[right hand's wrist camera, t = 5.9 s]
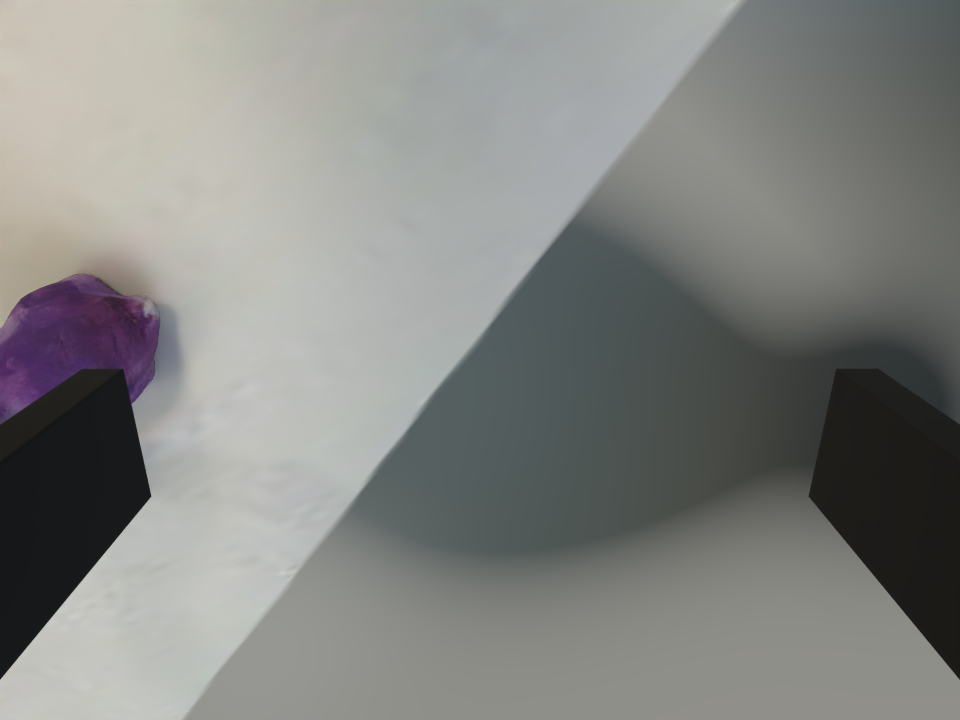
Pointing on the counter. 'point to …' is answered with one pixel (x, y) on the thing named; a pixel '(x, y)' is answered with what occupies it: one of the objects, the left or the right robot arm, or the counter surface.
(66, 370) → the figurine
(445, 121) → the counter surface
